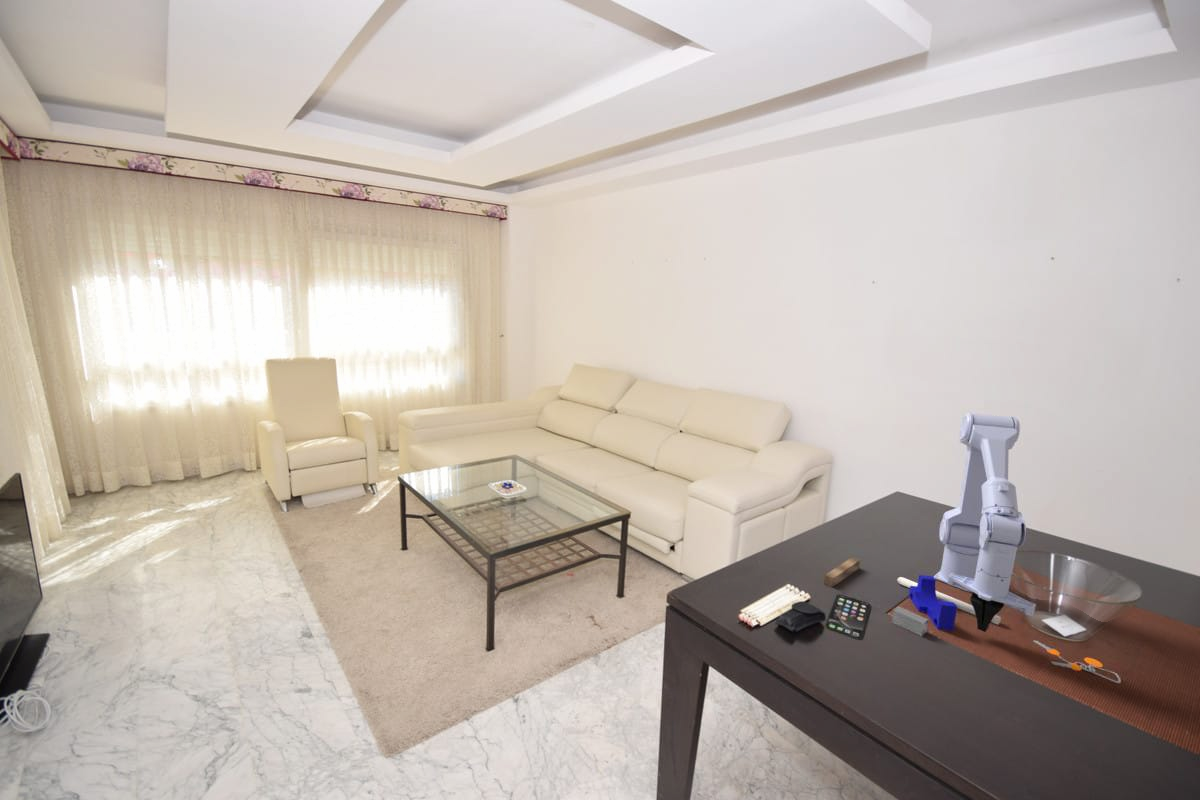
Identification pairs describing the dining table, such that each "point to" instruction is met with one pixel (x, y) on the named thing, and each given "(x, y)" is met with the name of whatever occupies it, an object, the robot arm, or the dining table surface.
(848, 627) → the smartphone
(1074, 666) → the key chain
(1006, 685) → the dining table surface
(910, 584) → the white rod
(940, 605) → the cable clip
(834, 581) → the bar
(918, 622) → the grey rectangular block
